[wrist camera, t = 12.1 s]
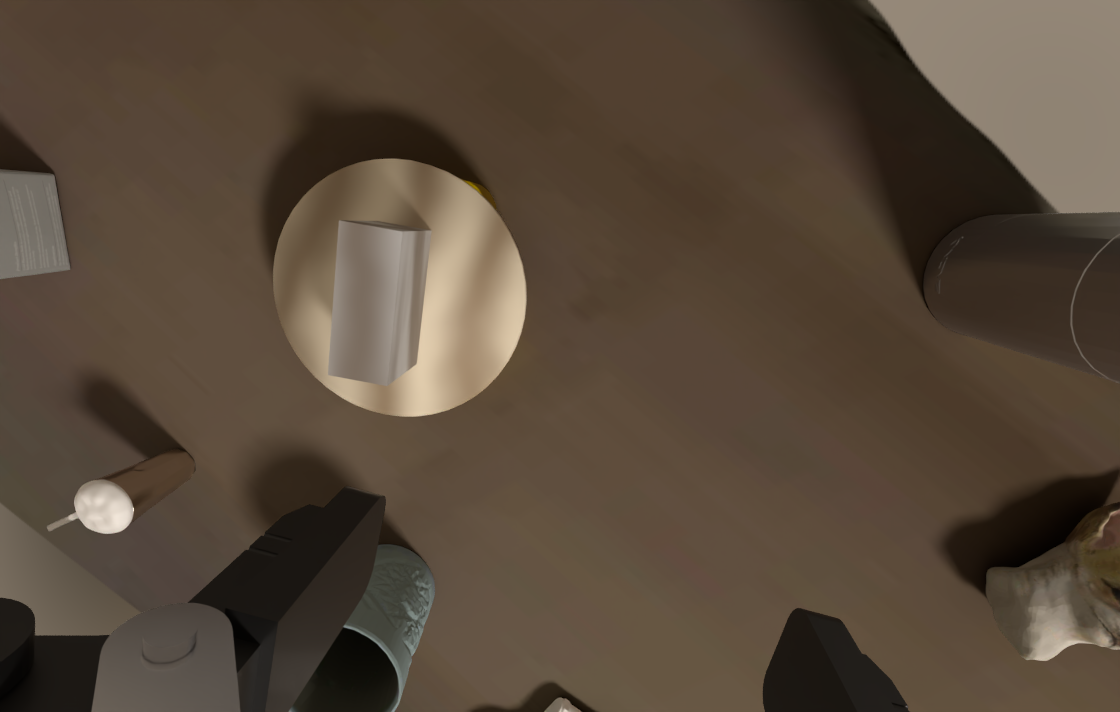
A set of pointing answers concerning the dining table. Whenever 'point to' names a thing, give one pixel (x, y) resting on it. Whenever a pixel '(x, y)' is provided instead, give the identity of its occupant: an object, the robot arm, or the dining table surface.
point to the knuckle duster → (561, 706)
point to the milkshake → (129, 492)
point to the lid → (399, 287)
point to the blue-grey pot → (375, 640)
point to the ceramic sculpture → (1063, 591)
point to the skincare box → (30, 225)
